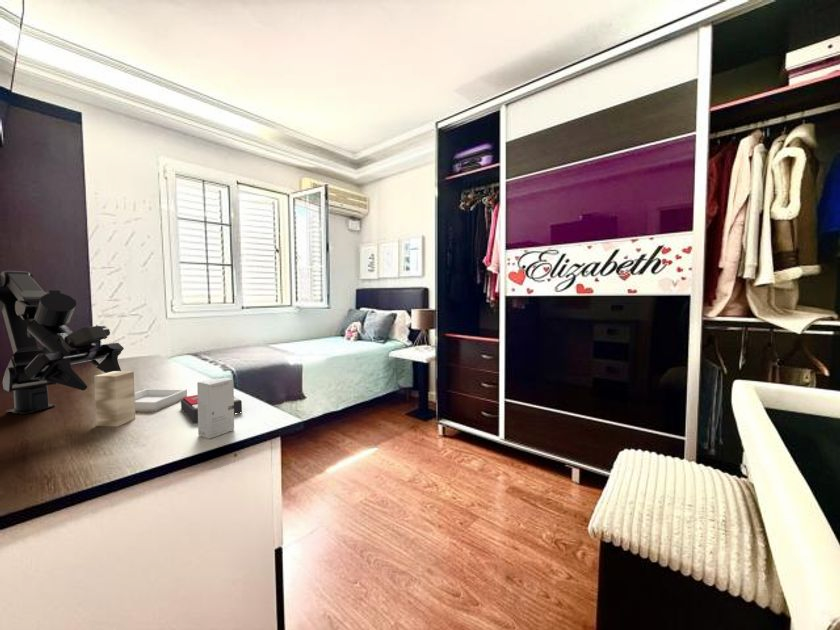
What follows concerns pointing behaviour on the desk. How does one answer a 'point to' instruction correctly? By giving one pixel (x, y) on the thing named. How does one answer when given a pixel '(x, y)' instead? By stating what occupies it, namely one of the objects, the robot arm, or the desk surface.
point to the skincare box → (215, 407)
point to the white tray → (157, 398)
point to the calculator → (191, 407)
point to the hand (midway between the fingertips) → (104, 383)
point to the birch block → (114, 398)
